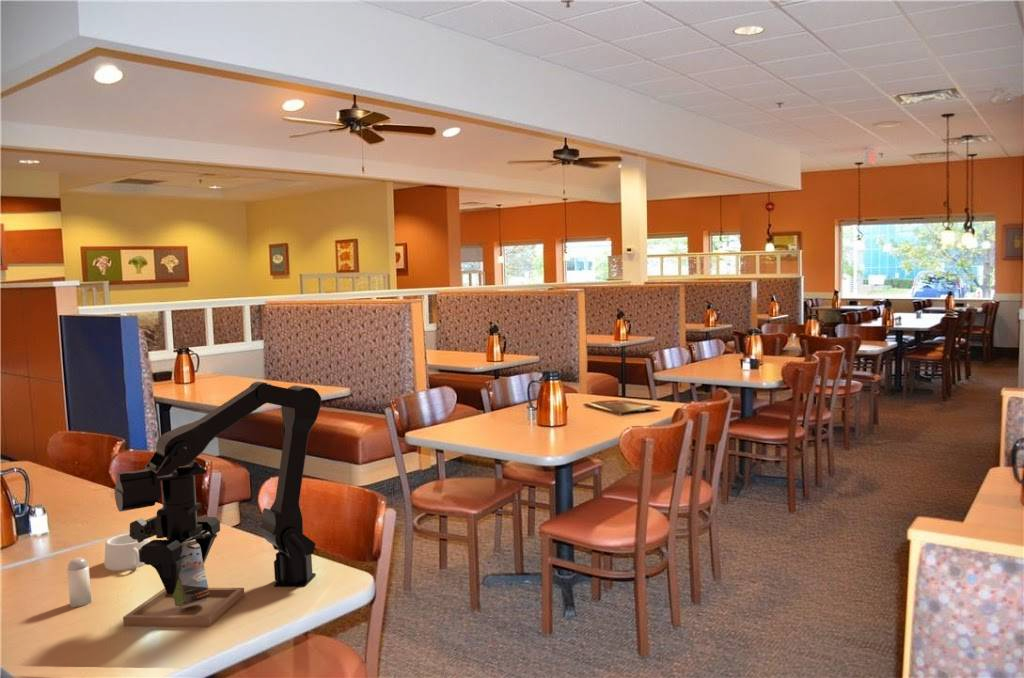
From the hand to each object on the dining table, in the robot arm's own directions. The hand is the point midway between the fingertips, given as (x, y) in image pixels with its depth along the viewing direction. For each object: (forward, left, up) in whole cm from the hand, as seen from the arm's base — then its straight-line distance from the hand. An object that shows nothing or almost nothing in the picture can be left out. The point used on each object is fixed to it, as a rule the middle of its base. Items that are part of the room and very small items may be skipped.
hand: (184, 584), depth 149 cm
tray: (0, 0, -5) cm, 5 cm away
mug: (+25, -23, -5) cm, 35 cm away
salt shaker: (+23, -3, -5) cm, 24 cm away
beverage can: (-1, 0, -4) cm, 4 cm away
